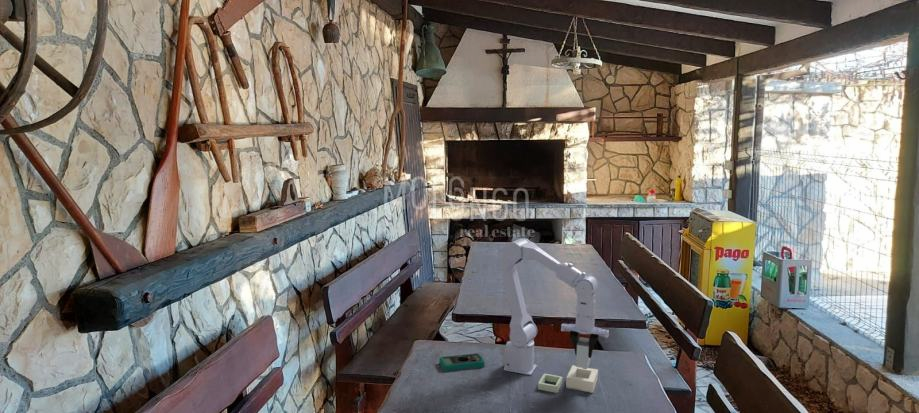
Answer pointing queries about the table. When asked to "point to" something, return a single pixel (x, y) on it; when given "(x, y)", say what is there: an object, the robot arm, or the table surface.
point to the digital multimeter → (461, 362)
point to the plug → (582, 353)
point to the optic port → (582, 379)
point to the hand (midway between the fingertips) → (583, 355)
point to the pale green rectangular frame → (549, 387)
